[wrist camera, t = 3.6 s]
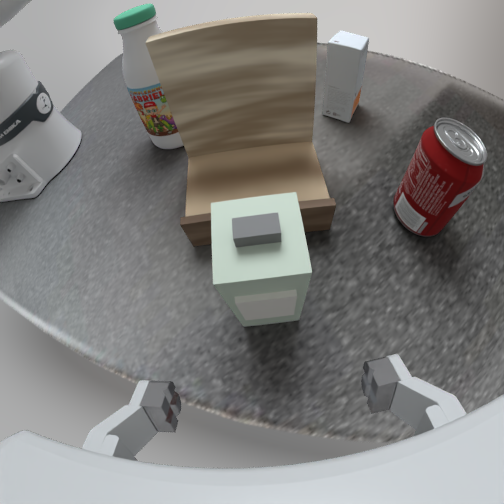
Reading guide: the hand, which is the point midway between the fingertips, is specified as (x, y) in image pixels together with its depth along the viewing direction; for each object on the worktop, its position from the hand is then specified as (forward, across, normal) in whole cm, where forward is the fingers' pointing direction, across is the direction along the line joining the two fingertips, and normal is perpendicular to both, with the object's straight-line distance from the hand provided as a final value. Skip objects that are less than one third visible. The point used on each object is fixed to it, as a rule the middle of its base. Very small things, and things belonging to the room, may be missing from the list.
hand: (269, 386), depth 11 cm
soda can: (+20, -18, -1) cm, 27 cm away
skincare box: (+33, -14, -14) cm, 39 cm away
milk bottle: (+33, +10, -14) cm, 37 cm away
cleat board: (+23, 0, -5) cm, 24 cm away
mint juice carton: (+15, 0, +4) cm, 15 cm away
